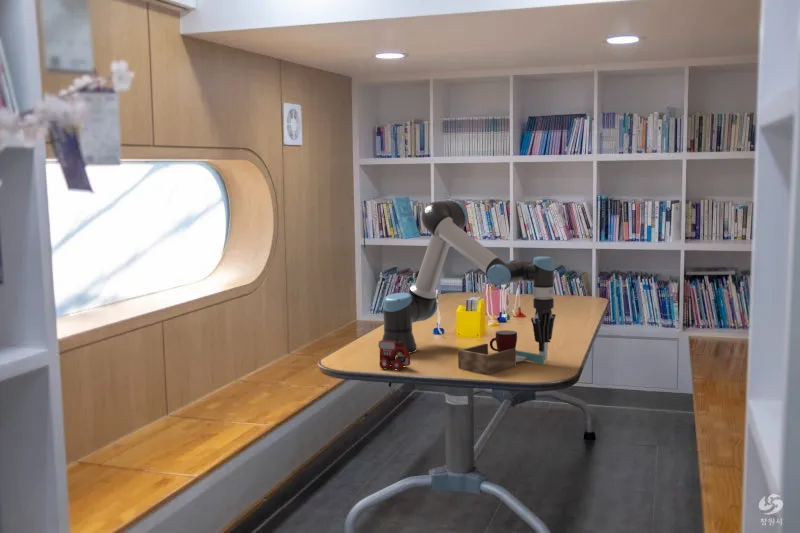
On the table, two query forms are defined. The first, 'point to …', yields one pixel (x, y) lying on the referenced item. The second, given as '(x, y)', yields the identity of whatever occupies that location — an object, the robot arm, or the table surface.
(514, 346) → the mug
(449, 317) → the table surface
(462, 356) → the box
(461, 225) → the robot arm
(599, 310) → the table surface
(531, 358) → the tray
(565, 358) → the table surface
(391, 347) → the toy fire truck
